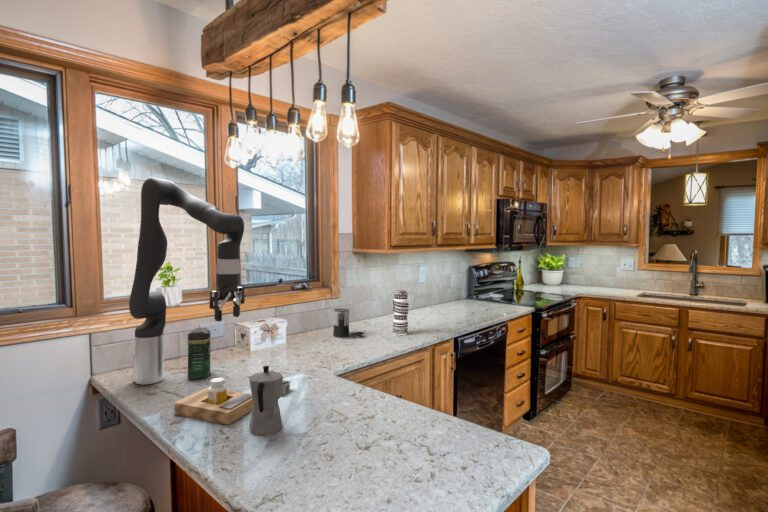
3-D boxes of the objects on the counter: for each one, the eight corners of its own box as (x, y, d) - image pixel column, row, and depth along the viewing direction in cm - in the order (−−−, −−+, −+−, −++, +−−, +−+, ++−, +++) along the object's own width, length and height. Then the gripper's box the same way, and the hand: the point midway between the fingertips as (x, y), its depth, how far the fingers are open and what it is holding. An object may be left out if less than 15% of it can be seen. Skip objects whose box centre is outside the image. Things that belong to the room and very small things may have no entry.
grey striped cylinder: (390, 332, 236) (390, 289, 235) (405, 331, 239) (405, 289, 238) (395, 336, 228) (395, 291, 227) (410, 335, 230) (411, 291, 229)
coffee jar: (208, 379, 156) (208, 330, 155) (185, 380, 153) (185, 331, 153) (212, 371, 165) (212, 325, 164) (190, 372, 163) (190, 326, 162)
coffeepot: (254, 418, 122) (254, 359, 121) (286, 417, 123) (286, 358, 122) (241, 444, 107) (240, 376, 106) (277, 443, 108) (277, 376, 107)
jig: (174, 414, 125) (174, 401, 124) (208, 397, 138) (208, 386, 138) (227, 424, 118) (227, 411, 118) (258, 406, 131) (258, 394, 131)
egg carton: (254, 393, 143) (254, 381, 143) (267, 386, 150) (267, 375, 150) (281, 397, 139) (281, 385, 139) (293, 389, 146) (293, 378, 146)
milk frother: (330, 334, 231) (331, 308, 230) (357, 332, 237) (357, 306, 236) (338, 340, 218) (338, 312, 217) (366, 337, 224) (366, 311, 223)
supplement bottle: (205, 413, 125) (205, 383, 125) (211, 406, 130) (211, 377, 130) (223, 413, 126) (223, 382, 125) (228, 406, 131) (228, 376, 131)
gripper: (233, 270, 148) (233, 314, 149) (203, 272, 135) (203, 321, 136) (250, 271, 145) (250, 316, 146) (221, 274, 132) (221, 324, 133)
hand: (227, 318), depth 141 cm, fingers open, 8 cm apart
